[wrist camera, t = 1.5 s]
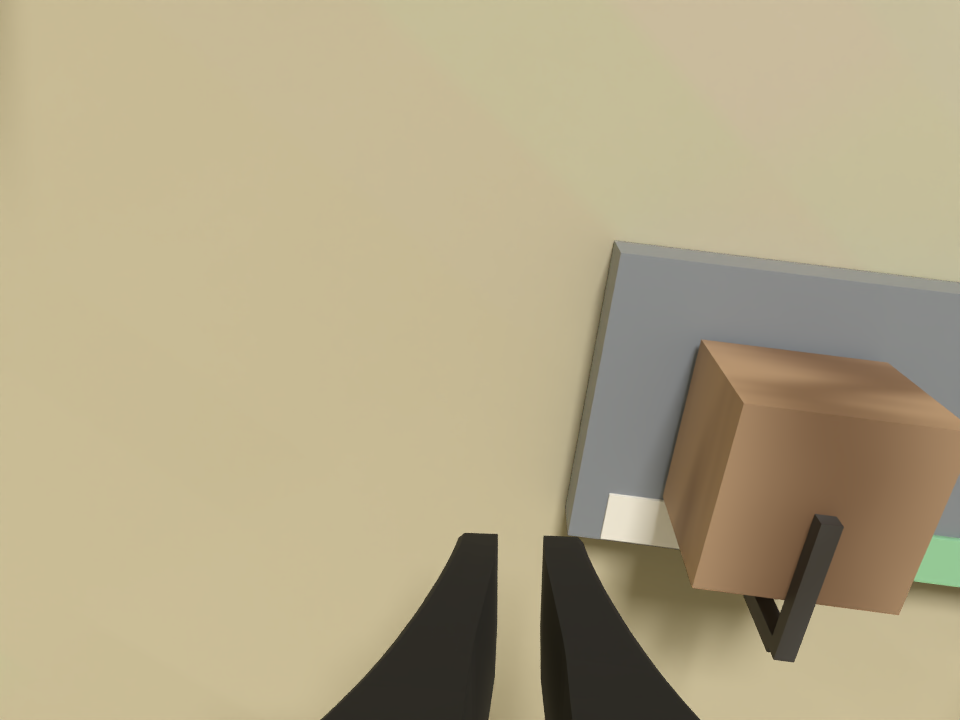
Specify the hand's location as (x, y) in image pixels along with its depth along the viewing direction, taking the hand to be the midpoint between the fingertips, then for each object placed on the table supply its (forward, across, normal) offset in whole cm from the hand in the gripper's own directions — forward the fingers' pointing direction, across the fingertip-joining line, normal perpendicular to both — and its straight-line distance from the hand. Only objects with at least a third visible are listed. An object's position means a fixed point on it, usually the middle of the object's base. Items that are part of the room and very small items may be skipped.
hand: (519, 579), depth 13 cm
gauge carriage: (+8, -7, +2) cm, 10 cm away
